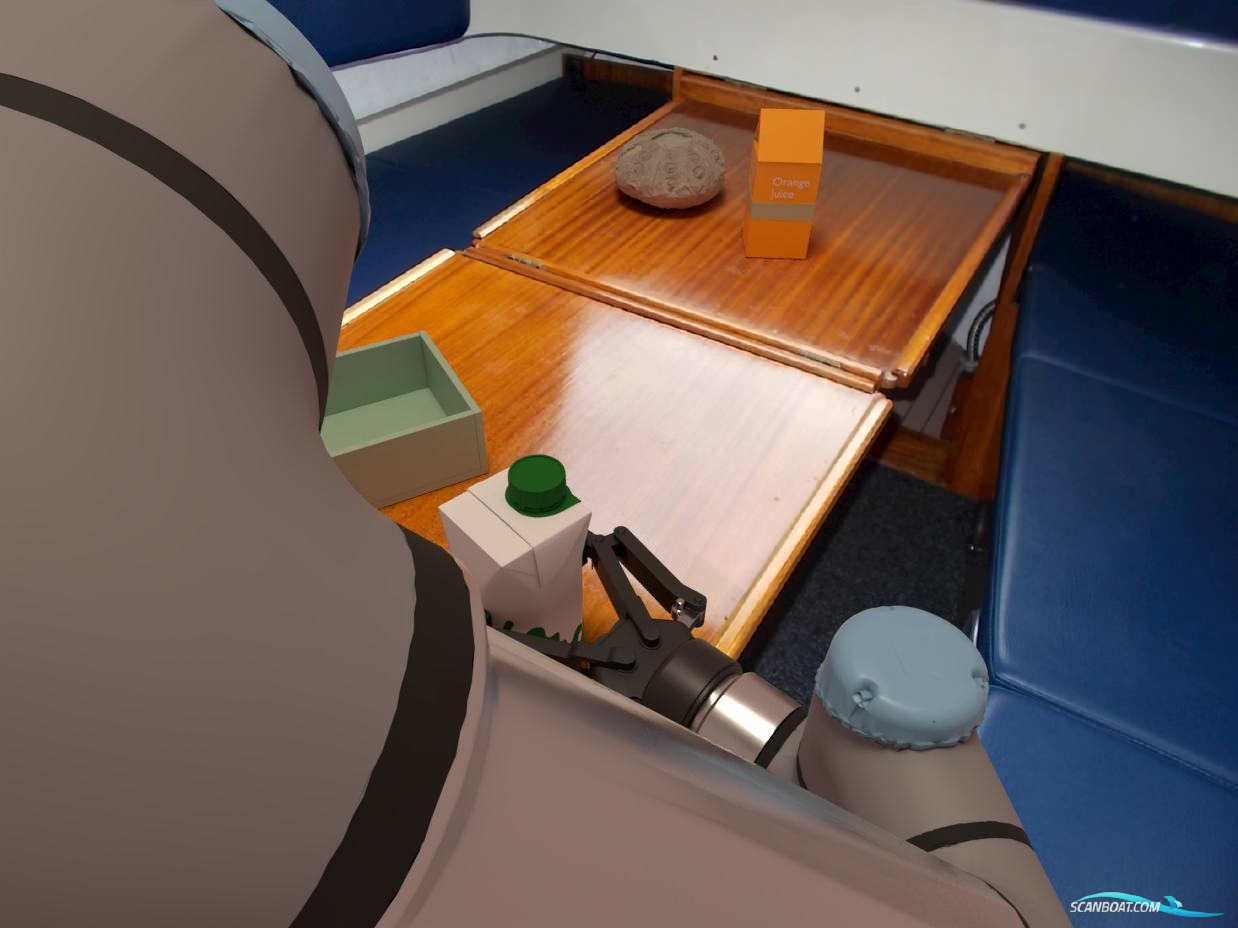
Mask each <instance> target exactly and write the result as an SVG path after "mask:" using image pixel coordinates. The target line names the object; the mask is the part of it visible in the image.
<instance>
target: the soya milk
mask: <svg viewBox="0 0 1238 928" xmlns="http://www.w3.org/2000/svg"><path fill="white" fill-rule="evenodd" d="M437 509H438V512H439V516H440V519H441V520H440V521H441V523H442V527H443V531H444V534H445V535H444V536H445V538H446V542H447V545H448V549H449V552H450V553H451V554H453V555H454V556H455V557H457V558H458V559H459V560H461V561H462V562H463V563H464V565H465V566H466V568H467V569H468V570H469V572H470V573H471V574H472V577H473V579H474V581H475V583H476V585H477V587H478V590H479V592H480V597H481V601H482V605H483V608H484V609H485V610H486V611H487V612H489V613H490V614H491V617H492V625H493V627H496V628H501V629H506V630H510V631H515V632H520V633H524V634H529V635H534V636H538V637H543V638H548V639H552V640H557V641H561V642H566V643H571V644H573V643H575V642H576V641H583V642H586V637H585V628H584V627H585V625H584V602H583V601H584V598H583V596H584V595H583V594H584V593H583V567H582V553H583V549H584V545H585V541H586V536H587V532H588V530H589V528H590V524H591V519H592V515H593V511H592V510H591V509H590V508H589V507H587V506H586V505H585V504H583V503H582V500H581V499H580V498H578V497H577V496H576V495H575V494H573V492H572V491H571V489H570V487H569V486H568V485H567V471H566V468H565V466H564V464H563V463H562V461H560V460H559V459H557V458H556V457H553V456H551V455H549V454H548V455H547V454H541V453H540V454H539V453H538V454H537V453H535V454H529V455H524V456H522V457H520V458H518V459H516V460H515V461H513V463H512V464H510V466H509V467H507V468H505V469H503V470H501V471H499V472H497V473H495V474H493V475H492V476H490V477H488V478H486V479H484V480H482V481H478V482H476V483H475V484H473V485H471V486H469V487H468V488H466V491H464V492H462V493H460V494H459V495H456V496H455V497H453V498H451V499H450V500H448V501H446V502H444V503H442V504H440V505H438V506H437ZM586 667H587V668H588V667H589V663H588V662H586Z"/></svg>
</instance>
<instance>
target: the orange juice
mask: <svg viewBox="0 0 1238 928" xmlns="http://www.w3.org/2000/svg"><path fill="white" fill-rule="evenodd" d="M825 117H826V110H824V109H796V108H795V109H792V108H791V109H790V108H789V109H788V108H762V107H761V108H760V111H759V117H758V120H757V125H756V129H755V133H754V138H753V140H752V141H753V142H752V149H751V159H750V166H749V175H748V180H747V189H746V202H745V209H744V218H743V227H742V234H743V235H742V239H743V238H744V242H743V247H744V246H745V249H744V255H745V254H746V256H748V257H771V258H773V257H775V258H778V257H779V258H802V259H804V258H806V259H807V253H808V247H809V242H810V236H811V230H812V225H813V222H814V215H815V210H816V202H817V197H818V196H817V195H818V190H819V184H820V179H821V173H822V166H823V153H824V152H823V151H824V137H825V136H824V135H825V119H826V118H825ZM746 256H745V257H746Z"/></svg>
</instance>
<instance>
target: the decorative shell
mask: <svg viewBox="0 0 1238 928" xmlns="http://www.w3.org/2000/svg"><path fill="white" fill-rule="evenodd" d="M723 153H724V150H722V149H720V148H719V147H718V145H716V143H715V141H714V139H710V138H708V137H707V136H706V135H703V134H701V133H699V132H698V133H697V132H696V131H695V130H691V129H689V128H685V127H677V126H674V127H669V128H666V127H665V128H659V129H658V128H657V129H656V128H652V129H651V130H647V131H644V132H642V133H639V134H637V135H634V136H633V138H631V139H630V140H629V141H628V142H627V143H626V144H623V145H622V148H621V149H620V152H619V153H618V156H617V159H616V162H615V165H614V169H613V172H614V176H615V182H616V185H617V187H618V189H619V190H620V191H621V192H622V193H623V194H625V195H627V196H629V197H630V198H633V199H636V200H638V201H640V202H642V203H644V204H647V205H650V206H652V207H656V208H660V209H664V208H665V209H664V210H671V209H670V208H678V209H677V210H684V209H688V208H692V207H698V206H700V205H702V204H704V203H708V202H709V201H711V200H712V199H713V198H715V196H716V195H717V194H719V192H720V191H721V189H722V187H723V186H724V183H725V181H726V175H727V172H726V169H727V167H726V158H725V157H724V155H723Z"/></svg>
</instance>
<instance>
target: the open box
mask: <svg viewBox="0 0 1238 928" xmlns="http://www.w3.org/2000/svg"><path fill="white" fill-rule="evenodd" d="M483 419H484V417H483V411H482V410H481V408H480V407H479V405H478V404H477V402H476V401H475V400H474V398H473V396H471V394H470V393H469V391H468V390H467V388H466V387H465V386H464V384H463V383H462V381H461V380H460V378H459V377H458V375H457V374H456V372H455V371H454V370H453V368H452V367H451V365H450V364H449V363H448V361H447V359H446V358H445V356H444V355H443V354H442V352H441V351H440V349H439V347H437V345H436V343H435V342H434V341H433V340H432V338H431V337H430V335H429V334H428V332H427V330H425V329H424V330H420V331H416V332H412V333H409V334H408V333H407V334H404V335H400V336H396V337H393V338H388V339H384V340H380V341H377V342H373V343H370V344H369V343H368V344H365V345H362V346H357V347H354V348H349V349H347V350H342V351H339V352H336V357H335V362H334V368H333V373H332V378H331V383H330V389H329V394H328V399H327V404H326V410H325V416H324V421H323V425H322V429H321V434H320V435H321V437H322V440H323V442H324V445H325V447H326V450H327V452H328V453H329V455H330V456H331V457H332V459H333V460H334V462H335V463H336V464H337V466H338V467H339V469H340V470H341V471H342V473H343V474H344V476H345V477H346V478H347V480H348V481H349V483H350V484H351V485H352V486H353V487H354V488H355V489H356V490H357V491H358V492H359V494H360V495H361V496H362V497H363V498H364V499H365V500H366V501H367V502H368V503H369V504H371V505H372V506H373V507H375V508H376V509H378V510H380V509H383V508H386V507H390V506H392V505H395V504H399V503H401V502H404V501H408V500H411V499H414V498H416V497H419V496H423V495H426V494H428V493H431V492H434V491H437V490H440V489H443V488H446V487H450V486H452V485H455V484H458V483H462V482H465V481H467V480H470V479H474V478H477V477H479V476H483V475H486V474H488V473H489V465H488V455H487V448H486V437H485V428H484V420H483Z"/></svg>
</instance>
